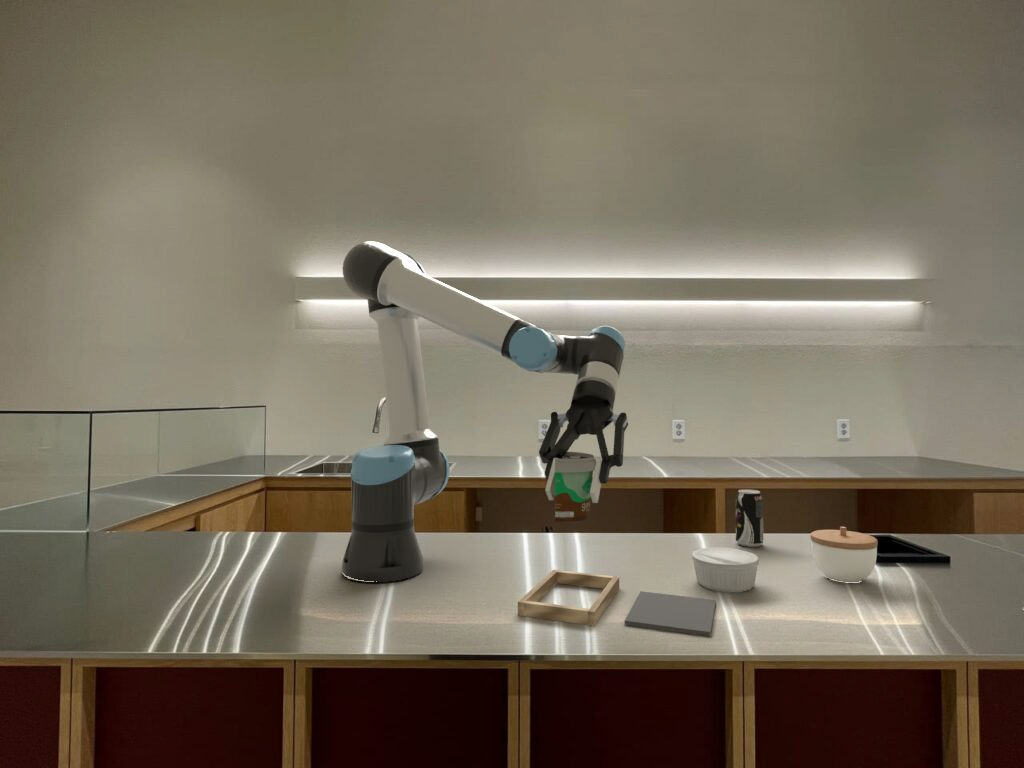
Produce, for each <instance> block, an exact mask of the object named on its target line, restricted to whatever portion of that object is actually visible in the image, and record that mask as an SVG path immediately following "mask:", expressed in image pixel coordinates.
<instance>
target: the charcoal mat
mask: <svg viewBox="0 0 1024 768" xmlns="http://www.w3.org/2000/svg"><path fill="white" fill-rule="evenodd" d="M716 601H717V600H716V599H710V598H704V597H703V598H702V597H694V596H693V597H692V596H685V595H677V594H676V595H675V594H668V593H658V592H650V591H643V590H642V591H641V590H640V592H639V593H638V595H637V597H636V598H635V601H634V602H633V605H632V606H631V608H630V610H629V612H628V613H627V615H626V617H625V619H624V625H625V626H632V627H639V628H645V629H647V628H648V629H653V630H655V629H656V630H661V631H667V632H668V631H669V632H675V633H684V634H690V635H696V636H697V635H698V636H706V637H711V635H712V629H713V623H714V617H715V611H716V604H717V602H716Z"/></svg>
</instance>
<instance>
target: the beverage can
mask: <svg viewBox="0 0 1024 768" xmlns="http://www.w3.org/2000/svg"><path fill="white" fill-rule="evenodd" d="M737 492H738V493H737V494H736V496H735V502H734V505H735V506H734V507H735V542H736V543H738V544H739V545H740V546H743V547H746V546H747V547H748V548H757V547H758V548H759V547H760V546H761V545H764V498H763V497H762V495H761V491H759V490H757V489H744V488H743V489H739V490H738V491H737ZM747 547H746V548H747Z"/></svg>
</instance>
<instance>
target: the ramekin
mask: <svg viewBox="0 0 1024 768" xmlns="http://www.w3.org/2000/svg"><path fill="white" fill-rule="evenodd" d="M691 560H692V561H693V566H694V573H695V576H696V580H697V582H698V584H699V585H700V586H701V587H704V588H705V589H708V590H712V591H715V592H720V591H721V593H730V592H737V593H744V592H743V591H745V592H747V590H748V591H750V590H751V589H752V588H753V587H754V586H755V583H756V578H757V572H758V566H759V564H760V561H759V560H760V559H759V557H758V556H757V555H756V554H755V553H752V552H750V551H746V550H742V549H736V548H731V547H705V548H699V549H696V550H694V551H693V552H692V553H691Z"/></svg>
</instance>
